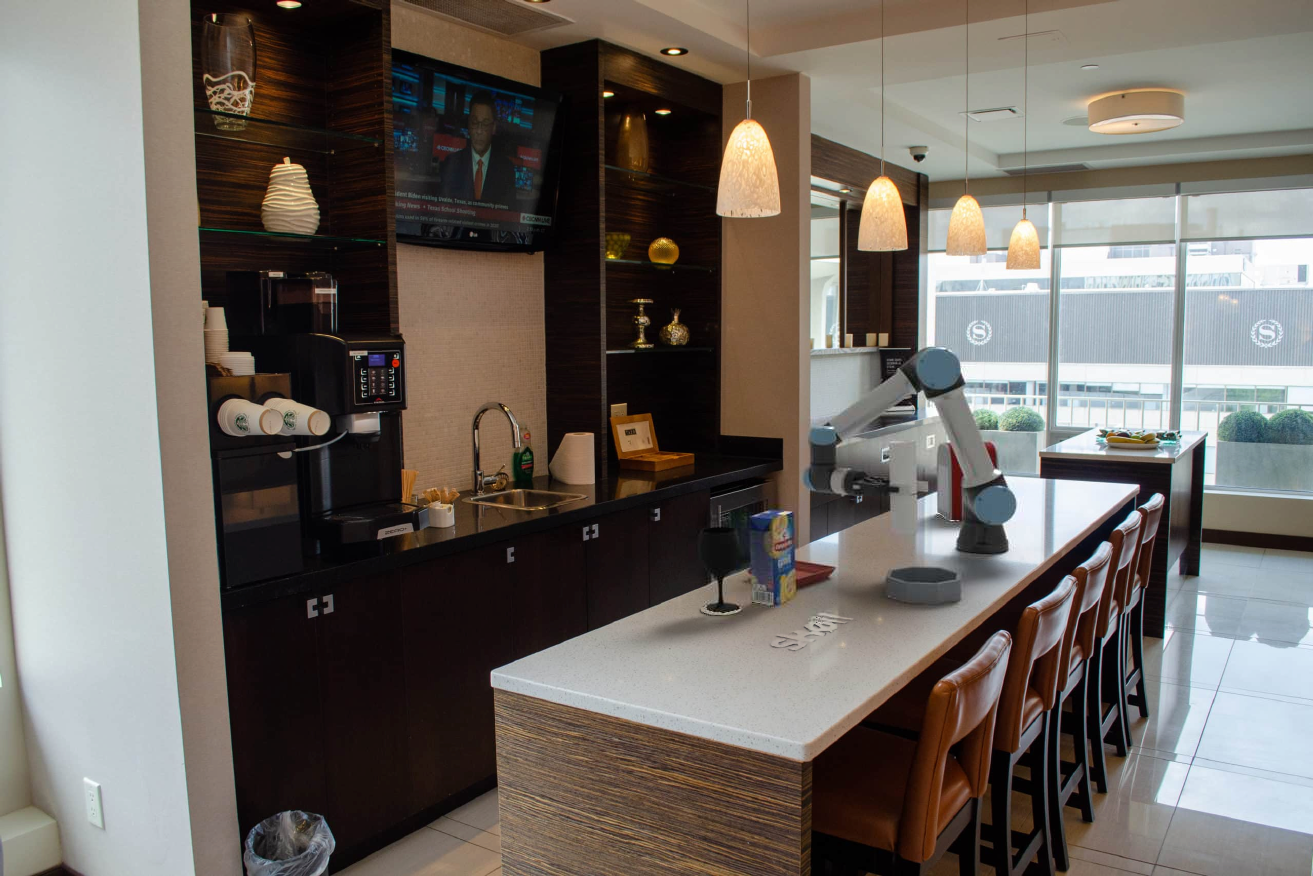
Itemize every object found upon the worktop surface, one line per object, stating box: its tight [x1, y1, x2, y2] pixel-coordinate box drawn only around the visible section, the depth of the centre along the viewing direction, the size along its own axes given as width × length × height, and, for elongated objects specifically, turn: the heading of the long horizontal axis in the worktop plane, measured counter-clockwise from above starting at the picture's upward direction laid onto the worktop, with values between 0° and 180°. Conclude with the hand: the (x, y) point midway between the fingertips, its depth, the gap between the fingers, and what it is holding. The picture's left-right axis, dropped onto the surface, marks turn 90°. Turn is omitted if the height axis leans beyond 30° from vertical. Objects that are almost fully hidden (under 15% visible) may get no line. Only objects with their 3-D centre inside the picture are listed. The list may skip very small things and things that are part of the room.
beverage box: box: [748, 509, 797, 606], centre depth 245 cm, size 7×11×22 cm, turn 144°
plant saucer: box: [746, 559, 837, 588], centre depth 268 cm, size 18×18×3 cm
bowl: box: [885, 565, 962, 605], centre depth 246 cm, size 18×18×5 cm
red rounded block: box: [936, 440, 1000, 521], centre depth 346 cm, size 16×18×27 cm
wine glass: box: [697, 526, 741, 613], centre depth 238 cm, size 10×10×20 cm
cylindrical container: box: [888, 439, 919, 536], centre depth 265 cm, size 7×7×25 cm
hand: (918, 488), depth 261 cm, fingers closed on cylindrical container, 7 cm apart
